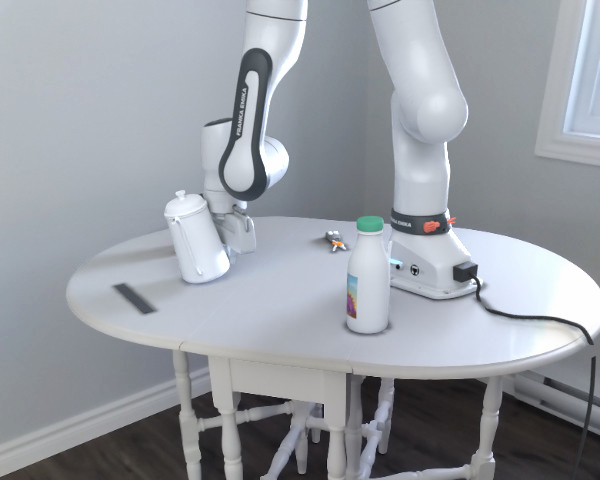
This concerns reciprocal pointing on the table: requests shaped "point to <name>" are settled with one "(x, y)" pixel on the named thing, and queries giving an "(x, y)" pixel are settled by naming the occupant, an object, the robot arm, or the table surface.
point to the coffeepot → (195, 238)
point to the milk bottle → (368, 279)
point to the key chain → (335, 239)
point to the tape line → (134, 298)
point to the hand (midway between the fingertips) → (230, 262)
